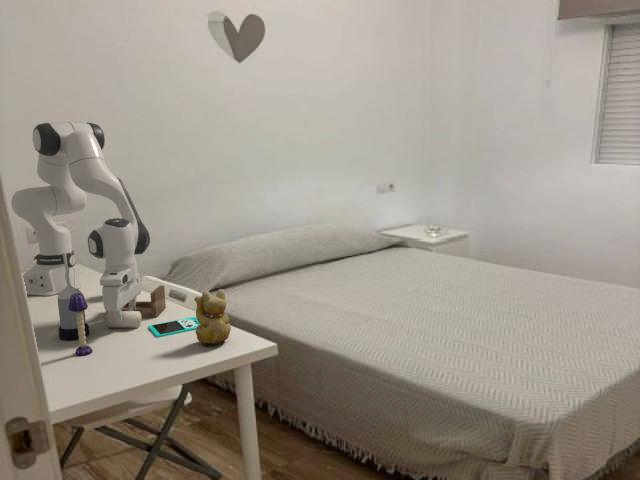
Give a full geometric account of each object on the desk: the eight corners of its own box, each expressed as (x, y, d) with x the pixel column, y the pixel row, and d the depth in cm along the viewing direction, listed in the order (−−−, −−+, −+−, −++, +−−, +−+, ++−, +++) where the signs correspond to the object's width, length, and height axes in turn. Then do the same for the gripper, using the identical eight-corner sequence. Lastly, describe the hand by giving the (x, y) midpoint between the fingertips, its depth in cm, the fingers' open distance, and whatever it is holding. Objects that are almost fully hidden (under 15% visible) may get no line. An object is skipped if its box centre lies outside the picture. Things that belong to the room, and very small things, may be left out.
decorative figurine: (226, 334, 161) (224, 285, 158) (236, 344, 154) (233, 292, 151) (193, 341, 156) (190, 290, 153) (202, 351, 149) (199, 298, 146)
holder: (112, 317, 177) (110, 293, 175) (123, 308, 186) (121, 285, 184) (156, 317, 176) (154, 293, 175) (165, 308, 185) (164, 285, 183)
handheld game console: (210, 328, 168) (209, 324, 167) (157, 339, 159) (157, 335, 159) (198, 319, 176) (198, 315, 176) (148, 329, 168) (147, 324, 167)
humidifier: (60, 333, 164) (50, 251, 159) (89, 329, 167) (81, 248, 162) (57, 342, 157) (47, 257, 152) (89, 338, 160) (80, 254, 155)
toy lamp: (93, 354, 148) (87, 295, 145) (74, 358, 146) (68, 297, 142) (91, 348, 152) (85, 290, 149) (72, 352, 150) (66, 293, 147)
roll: (110, 329, 170) (103, 325, 165) (113, 313, 172) (106, 309, 167) (140, 329, 169) (134, 325, 165) (143, 313, 171) (137, 309, 167)
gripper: (125, 264, 177) (129, 305, 180) (96, 281, 157) (101, 327, 160) (144, 264, 177) (148, 305, 180) (118, 281, 157) (122, 327, 160)
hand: (126, 316), depth 170 cm, fingers open, 8 cm apart
